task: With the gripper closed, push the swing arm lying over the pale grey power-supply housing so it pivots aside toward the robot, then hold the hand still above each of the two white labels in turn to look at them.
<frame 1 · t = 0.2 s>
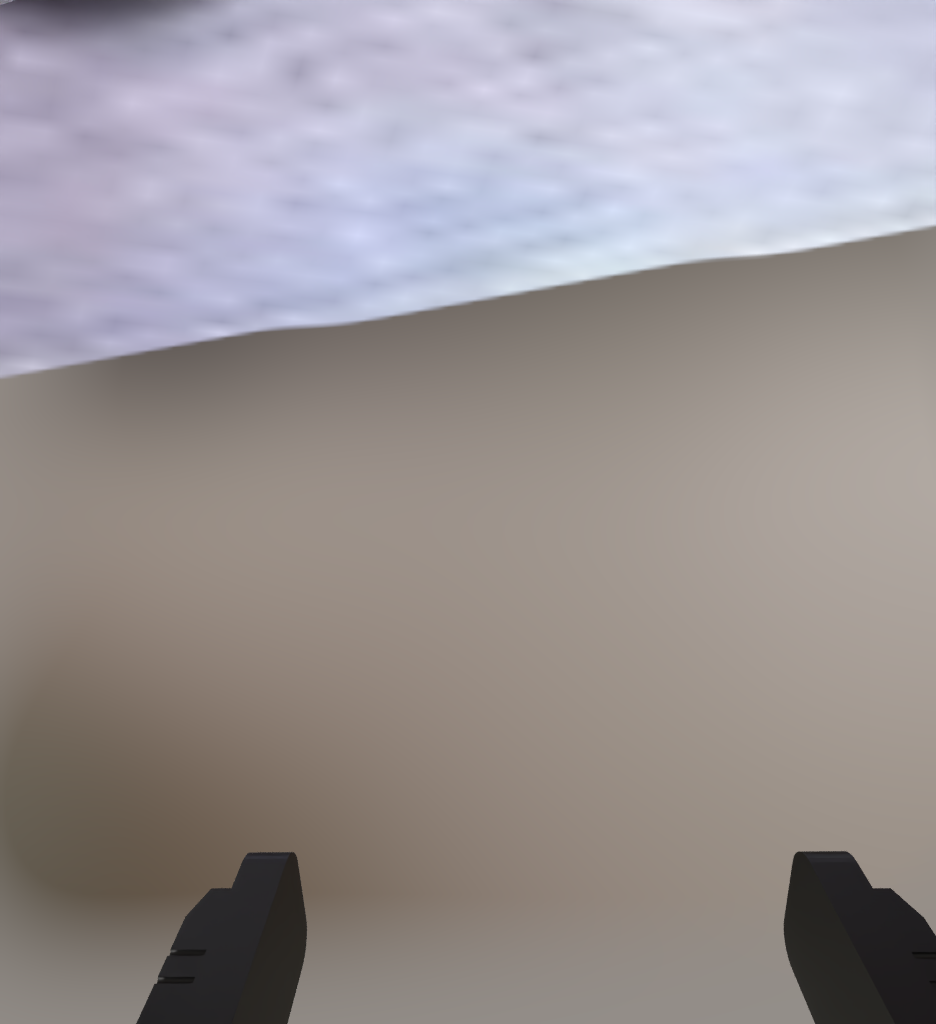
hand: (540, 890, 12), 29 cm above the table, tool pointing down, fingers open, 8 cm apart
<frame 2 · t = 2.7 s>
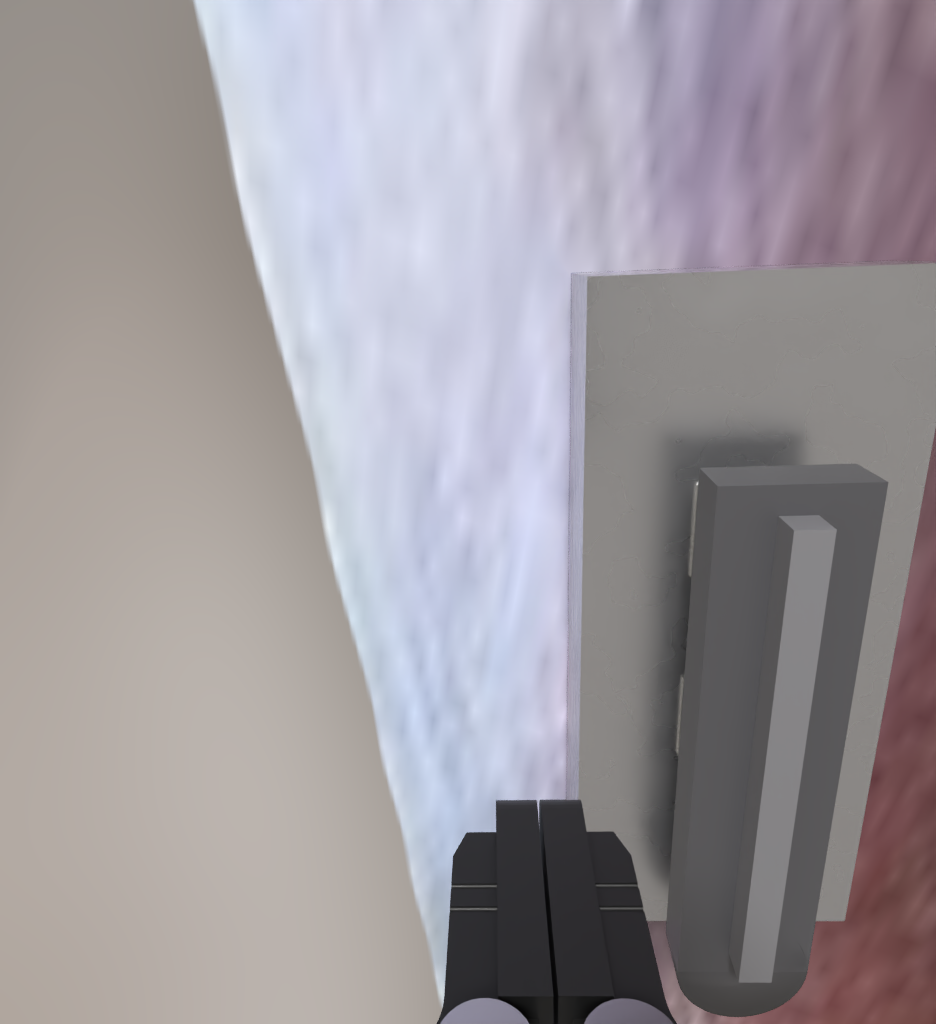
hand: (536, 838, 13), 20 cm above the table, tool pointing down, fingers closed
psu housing: (701, 592, 33), on the table
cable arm: (760, 782, 26), point 9 cm above the table, hinge at 0.0°
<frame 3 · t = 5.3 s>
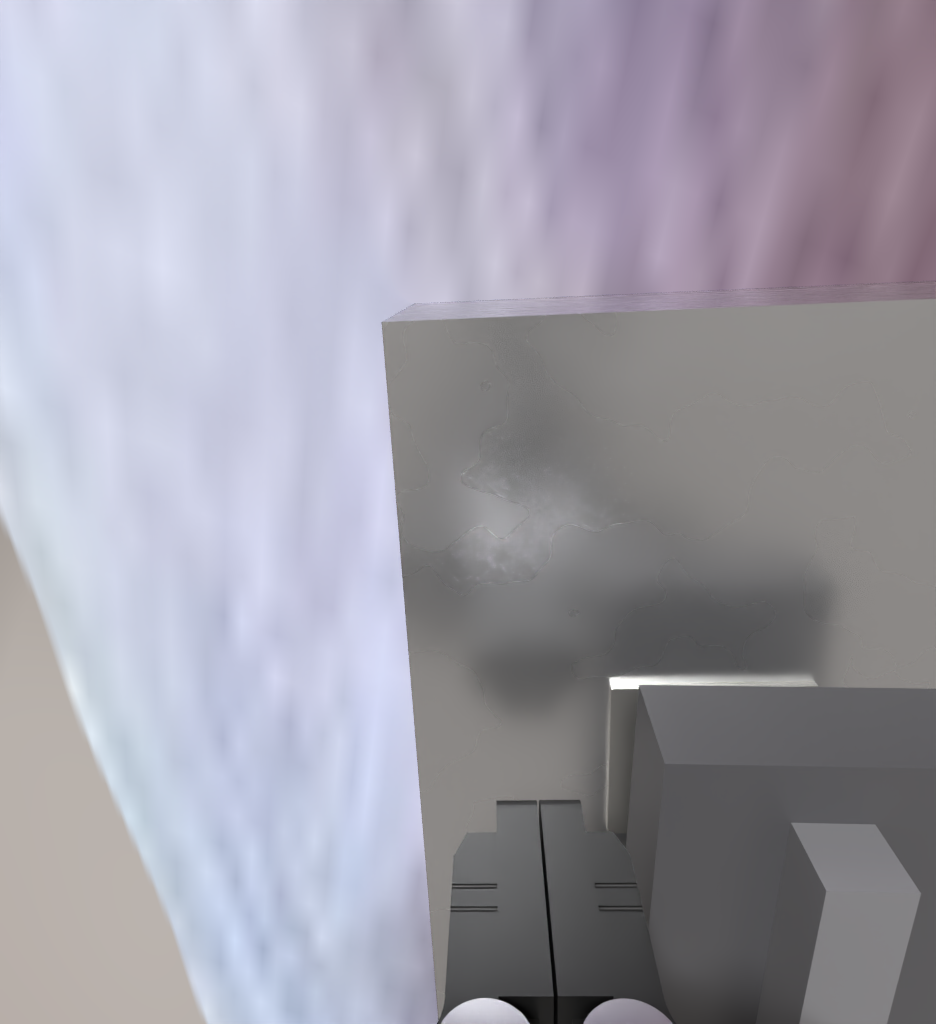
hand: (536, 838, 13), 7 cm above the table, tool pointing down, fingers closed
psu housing: (648, 785, 21), on the table
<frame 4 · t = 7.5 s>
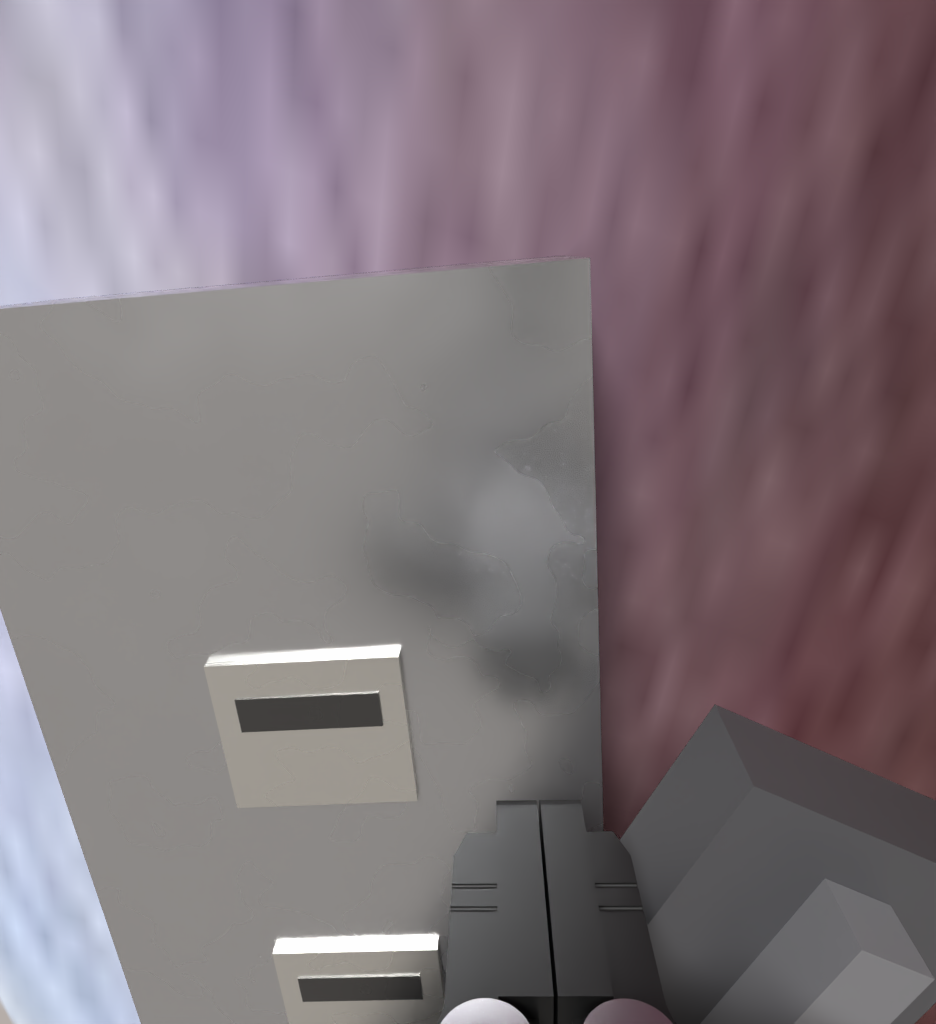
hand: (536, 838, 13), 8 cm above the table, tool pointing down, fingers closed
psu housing: (380, 764, 22), on the table
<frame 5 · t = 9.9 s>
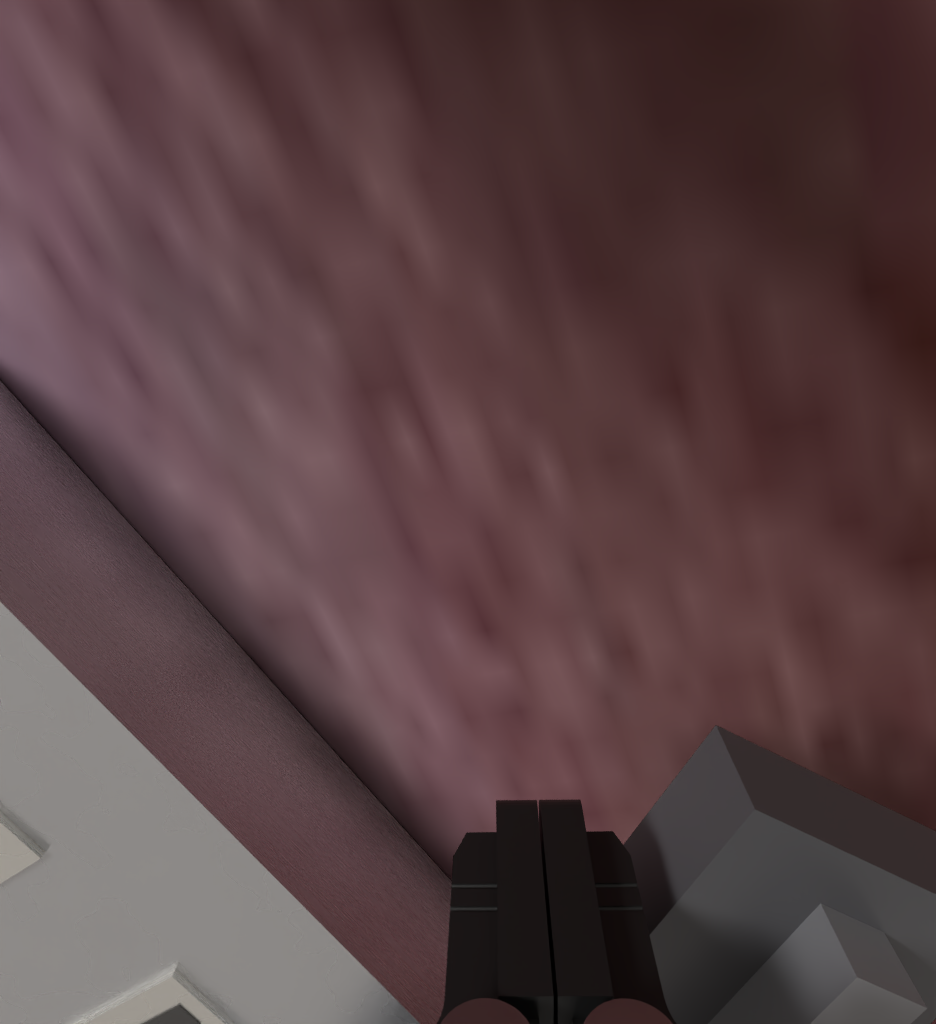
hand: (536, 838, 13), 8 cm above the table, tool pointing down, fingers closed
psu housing: (170, 821, 23), on the table
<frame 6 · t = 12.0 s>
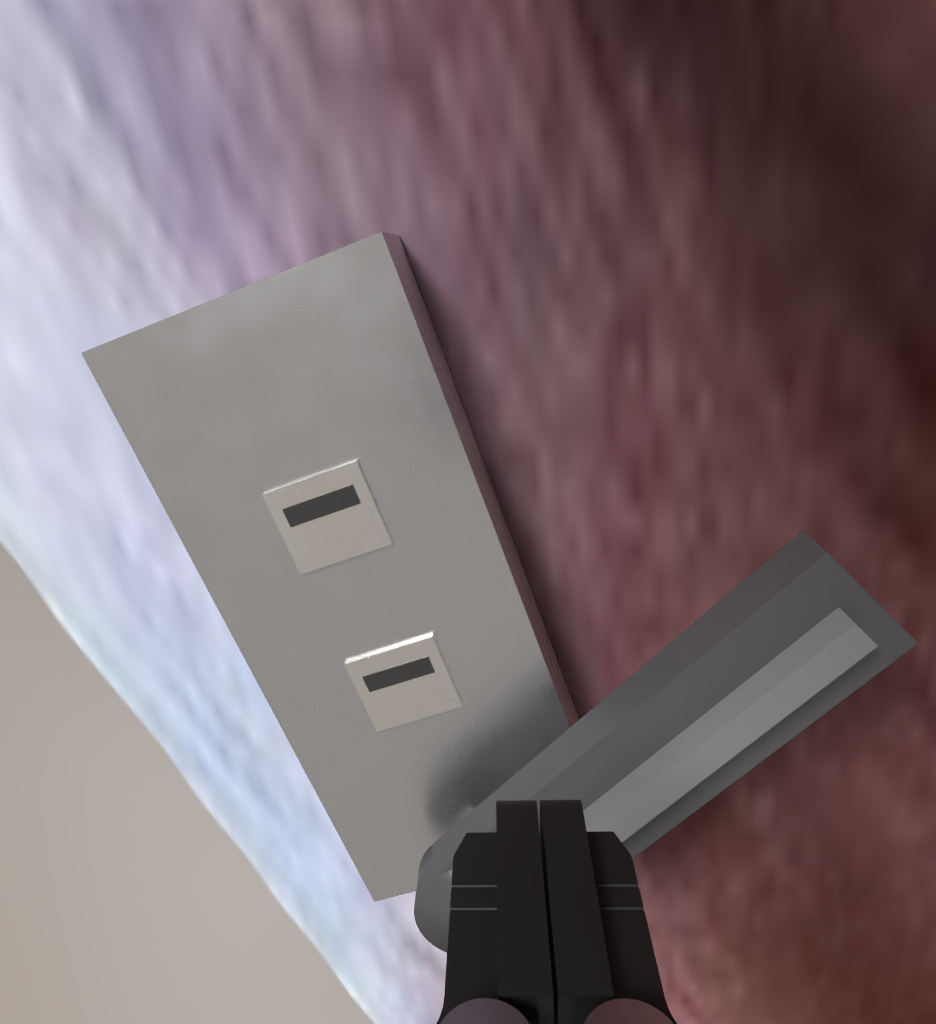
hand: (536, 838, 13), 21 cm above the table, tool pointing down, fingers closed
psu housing: (392, 574, 35), on the table
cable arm: (628, 783, 28), point 9 cm above the table, hinge at 62.9°
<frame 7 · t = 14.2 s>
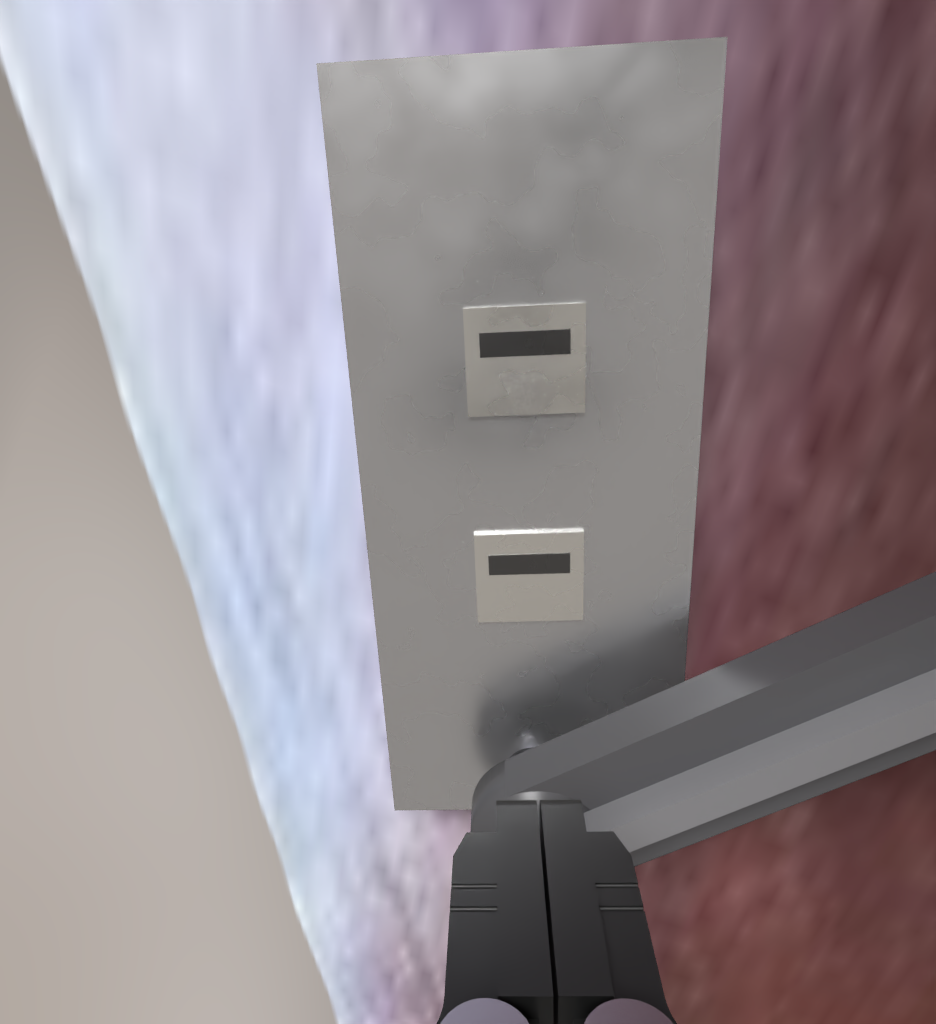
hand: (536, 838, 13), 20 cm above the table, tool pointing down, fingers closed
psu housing: (523, 461, 31), on the table
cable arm: (761, 746, 25), point 9 cm above the table, hinge at 62.9°
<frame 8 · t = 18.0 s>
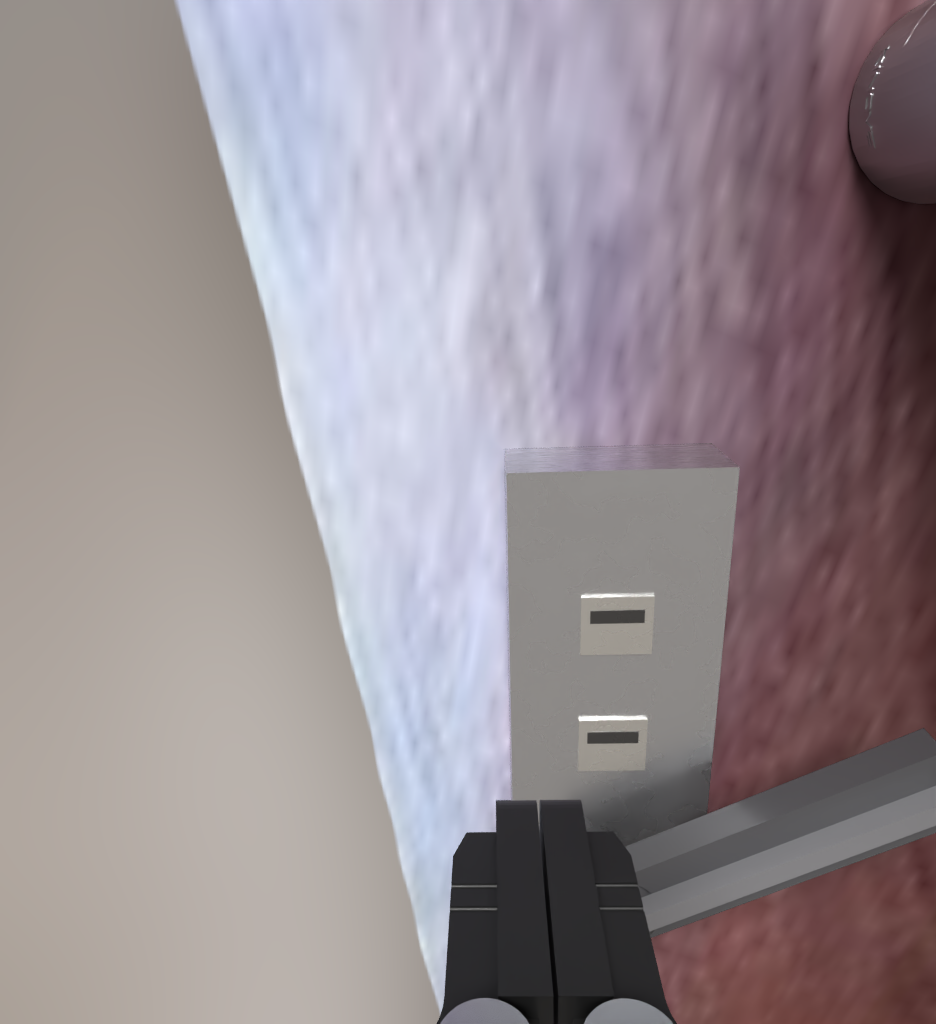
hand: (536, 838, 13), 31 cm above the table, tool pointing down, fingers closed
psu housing: (601, 655, 47), on the table
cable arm: (757, 856, 41), point 9 cm above the table, hinge at 62.9°
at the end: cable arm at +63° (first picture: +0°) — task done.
